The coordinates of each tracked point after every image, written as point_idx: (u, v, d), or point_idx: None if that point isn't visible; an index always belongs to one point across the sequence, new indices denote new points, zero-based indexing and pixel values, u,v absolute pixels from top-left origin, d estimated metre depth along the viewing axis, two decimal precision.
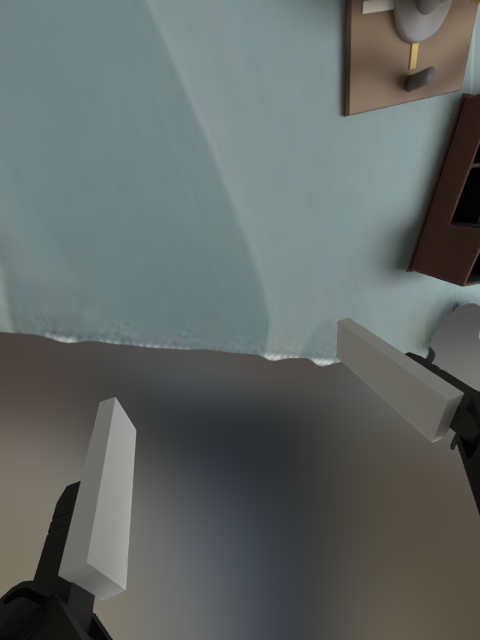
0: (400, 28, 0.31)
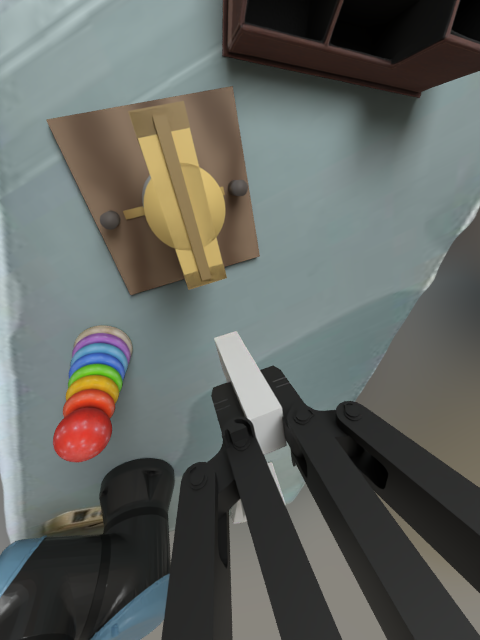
0: None
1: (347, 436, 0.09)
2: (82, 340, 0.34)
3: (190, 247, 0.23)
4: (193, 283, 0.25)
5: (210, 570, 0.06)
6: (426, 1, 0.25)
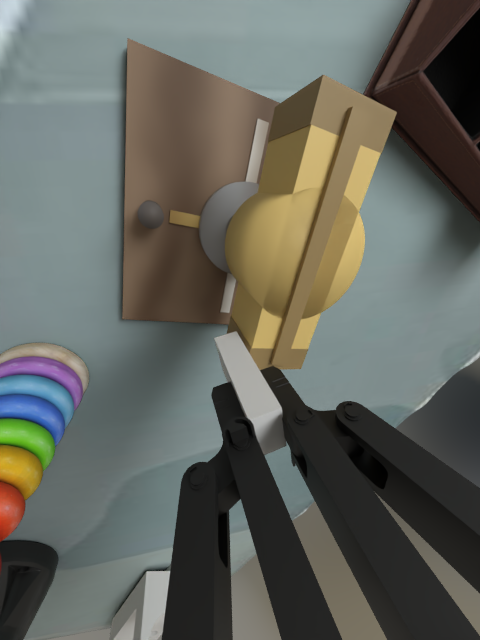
0: None
1: (346, 436, 0.09)
2: (13, 363, 0.20)
3: (282, 314, 0.14)
4: (257, 363, 0.15)
5: (210, 570, 0.06)
6: None
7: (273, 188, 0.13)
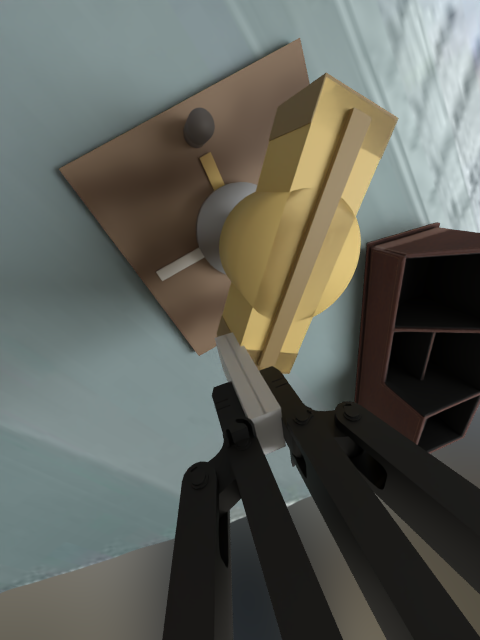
0: None
1: (346, 437, 0.09)
2: None
3: (273, 315, 0.14)
4: None
5: (211, 570, 0.06)
6: (424, 386, 0.33)
7: (271, 187, 0.13)
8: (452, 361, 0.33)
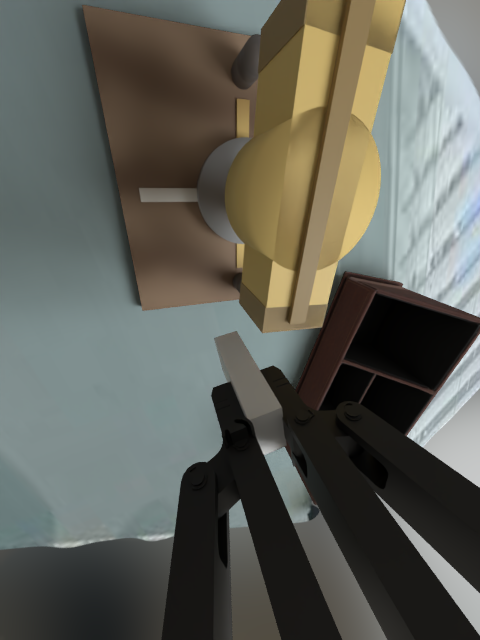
0: (209, 226, 0.22)
1: (346, 436, 0.09)
2: None
3: (295, 265, 0.13)
4: (274, 324, 0.14)
5: (210, 570, 0.06)
6: None
7: (270, 123, 0.12)
8: (377, 412, 0.35)
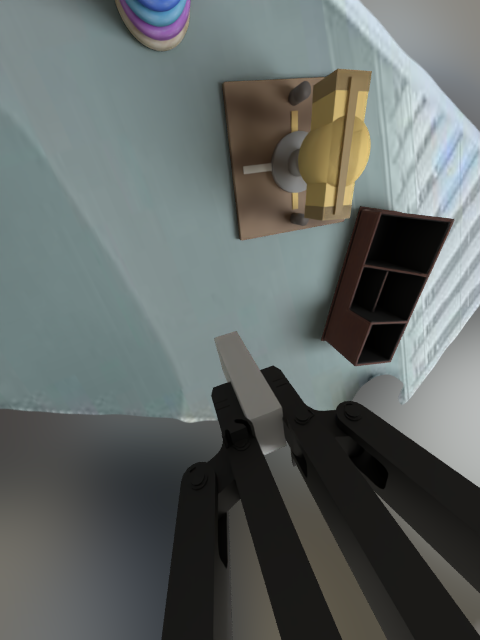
0: (278, 184, 0.39)
1: (347, 436, 0.09)
2: None
3: (336, 184, 0.30)
4: (327, 215, 0.31)
5: (210, 570, 0.06)
6: (373, 314, 0.49)
7: (320, 124, 0.29)
8: (392, 304, 0.51)
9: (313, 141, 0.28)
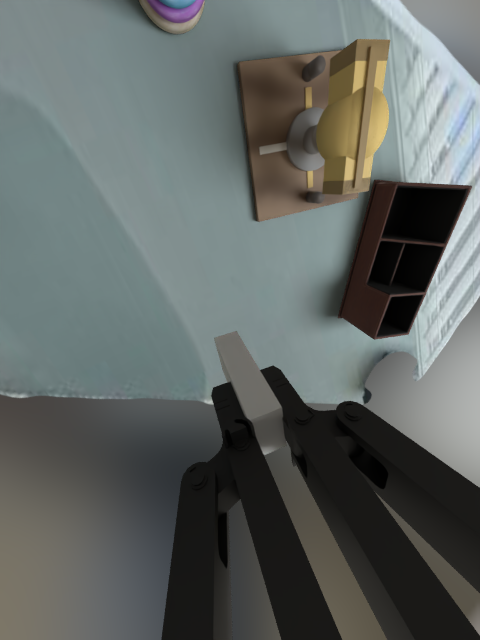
0: (294, 162, 0.39)
1: (347, 436, 0.09)
2: None
3: (355, 157, 0.30)
4: (347, 189, 0.32)
5: (210, 570, 0.06)
6: (390, 287, 0.50)
7: (339, 97, 0.29)
8: (409, 277, 0.51)
9: (332, 115, 0.29)
